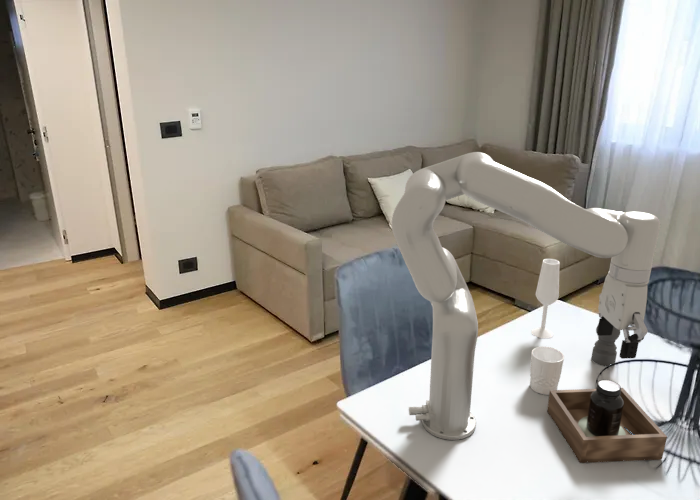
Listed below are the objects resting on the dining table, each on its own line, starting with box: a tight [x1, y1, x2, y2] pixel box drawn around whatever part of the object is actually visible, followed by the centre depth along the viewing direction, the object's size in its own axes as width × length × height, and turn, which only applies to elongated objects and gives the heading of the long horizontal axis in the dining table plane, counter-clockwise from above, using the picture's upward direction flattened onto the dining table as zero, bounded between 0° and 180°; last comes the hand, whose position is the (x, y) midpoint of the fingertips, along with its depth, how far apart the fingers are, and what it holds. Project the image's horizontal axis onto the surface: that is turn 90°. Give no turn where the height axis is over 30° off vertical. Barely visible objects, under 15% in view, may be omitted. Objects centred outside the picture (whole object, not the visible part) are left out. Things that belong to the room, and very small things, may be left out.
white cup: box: [529, 346, 565, 396], centre depth 142 cm, size 8×8×10 cm
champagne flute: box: [530, 258, 561, 339], centre depth 167 cm, size 7×7×24 cm
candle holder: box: [590, 277, 621, 367], centre depth 151 cm, size 6×6×25 cm
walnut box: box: [546, 387, 668, 464], centre depth 125 cm, size 18×18×6 cm
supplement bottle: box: [586, 379, 624, 436], centre depth 123 cm, size 7×7×12 cm
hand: (615, 345), depth 118 cm, fingers open, 9 cm apart
